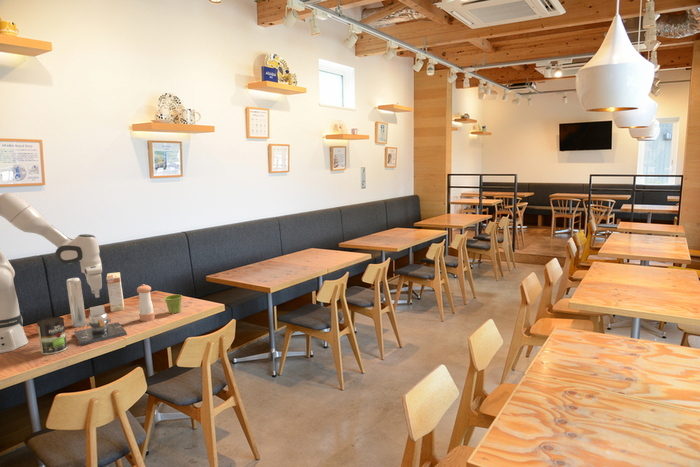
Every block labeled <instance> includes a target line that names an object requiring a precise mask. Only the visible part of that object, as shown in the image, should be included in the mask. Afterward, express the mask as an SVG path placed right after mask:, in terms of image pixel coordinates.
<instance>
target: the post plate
mask: <svg viewBox="0 0 700 467" xmlns="http://www.w3.org/2000/svg"><path fill="white" fill-rule="evenodd" d="M127 334H128V333H127V331H126V329H124V327H123V326H122V324H121V323H120V322H119V321H118V322H113V323H107V324H106V325H104V326H101V327H100V326H99V327H89V328H85V329H81V330H75V331H74V336H75V338H76V341H77V342H78V345H79V346H85V345H89V344H93V343H97V342H102V341H105V340H110V339H113V338H119V337H122V336H127Z"/></svg>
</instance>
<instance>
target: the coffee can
mask: <svg viewBox="0 0 700 467" xmlns="http://www.w3.org/2000/svg"><path fill="white" fill-rule="evenodd" d="M64 319H65V318H64V317H61V316H56V317H54V316H53V317H47V318H43V319H41V320H38V321H37V322H36V325H37V331H38V339H39V344H40V353H41V354H42V355H45V356H46V355H54V354H59V353H62V352H64V351H66V350H67V349H68V341H67V337H66V329H65V328H66V327H65V320H64Z"/></svg>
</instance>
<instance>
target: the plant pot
mask: <svg viewBox="0 0 700 467" xmlns="http://www.w3.org/2000/svg"><path fill="white" fill-rule="evenodd" d="M182 298H183V295H182V294H172V295H166V296H165V297H164V298H163V299H164V300H165V303H166V305H167V306H166V307H167V310H168V313H169V314H171V313H174V314H177V313H178V312H179V313H180V312H181V310H182V308H181V307H182Z"/></svg>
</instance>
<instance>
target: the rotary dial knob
mask: <svg viewBox="0 0 700 467" xmlns="http://www.w3.org/2000/svg"><path fill="white" fill-rule="evenodd" d="M105 310H106V309H105V306H104V305H103V304H102V305H96V306H95V305H94V306H91V307H89V315H88V322H89V323H87V324H86V327H87V328H88V327H89V328H91V327H99V326H100V327H101V326H104V325H106V324H107V325H108V324H109V323H110V322H112V321H111V318H109V319H108V312H106V311H105Z"/></svg>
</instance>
